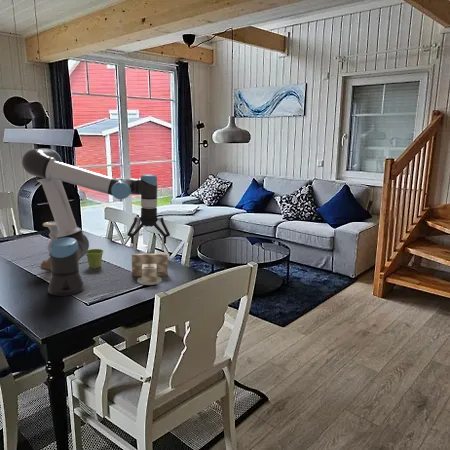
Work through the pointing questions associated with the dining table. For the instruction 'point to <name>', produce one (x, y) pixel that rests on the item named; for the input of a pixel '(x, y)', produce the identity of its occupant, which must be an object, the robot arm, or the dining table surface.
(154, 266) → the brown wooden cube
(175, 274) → the dining table surface
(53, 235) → the candle holder
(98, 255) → the plant pot
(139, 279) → the sage mat
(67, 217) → the robot arm
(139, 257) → the birch screen
